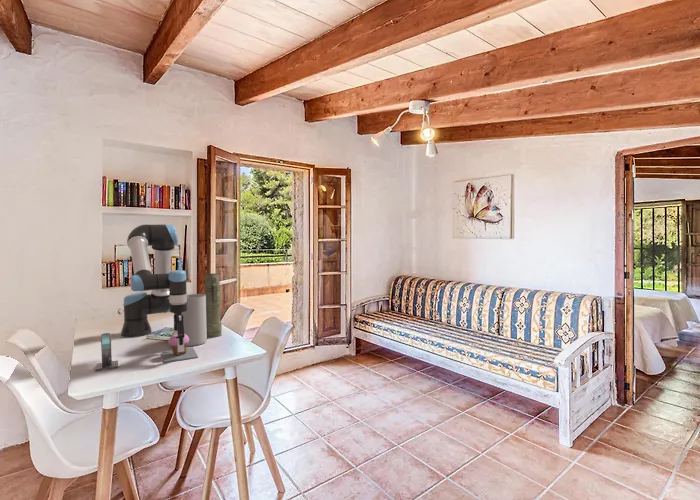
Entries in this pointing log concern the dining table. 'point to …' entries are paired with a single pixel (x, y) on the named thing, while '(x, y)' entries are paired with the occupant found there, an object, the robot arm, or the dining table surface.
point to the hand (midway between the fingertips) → (179, 347)
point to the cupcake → (174, 344)
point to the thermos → (213, 305)
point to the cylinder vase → (195, 319)
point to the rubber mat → (171, 357)
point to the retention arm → (105, 340)
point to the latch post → (106, 360)
